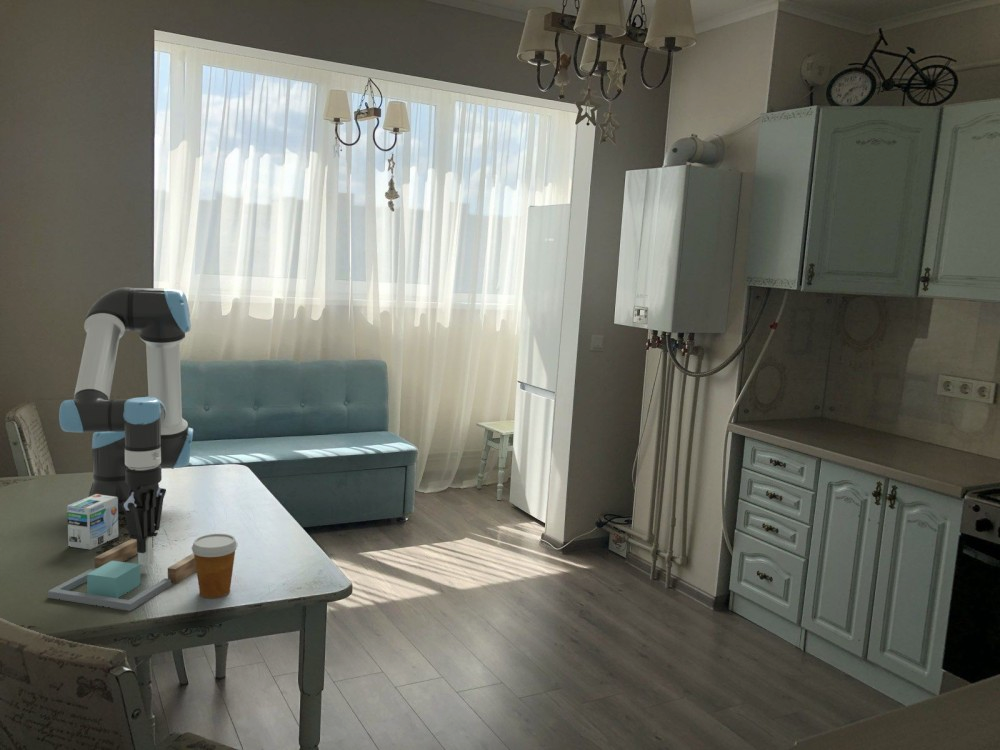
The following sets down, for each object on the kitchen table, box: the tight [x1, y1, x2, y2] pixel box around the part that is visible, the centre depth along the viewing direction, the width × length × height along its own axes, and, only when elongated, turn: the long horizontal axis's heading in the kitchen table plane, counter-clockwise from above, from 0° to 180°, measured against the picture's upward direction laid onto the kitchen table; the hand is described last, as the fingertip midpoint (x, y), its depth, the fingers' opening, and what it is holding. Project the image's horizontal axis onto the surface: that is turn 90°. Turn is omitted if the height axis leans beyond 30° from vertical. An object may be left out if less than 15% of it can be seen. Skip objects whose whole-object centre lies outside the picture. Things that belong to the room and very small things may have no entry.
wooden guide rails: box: [94, 538, 197, 585], centre depth 185 cm, size 14×21×4 cm, turn 78°
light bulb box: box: [66, 494, 119, 550], centre depth 198 cm, size 11×7×11 cm, turn 168°
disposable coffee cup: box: [191, 533, 239, 599], centre depth 172 cm, size 10×10×12 cm
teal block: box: [86, 561, 141, 599], centre depth 172 cm, size 8×7×5 cm
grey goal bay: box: [47, 567, 172, 612], centre depth 171 cm, size 14×20×2 cm
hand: (145, 564), depth 182 cm, fingers closed
